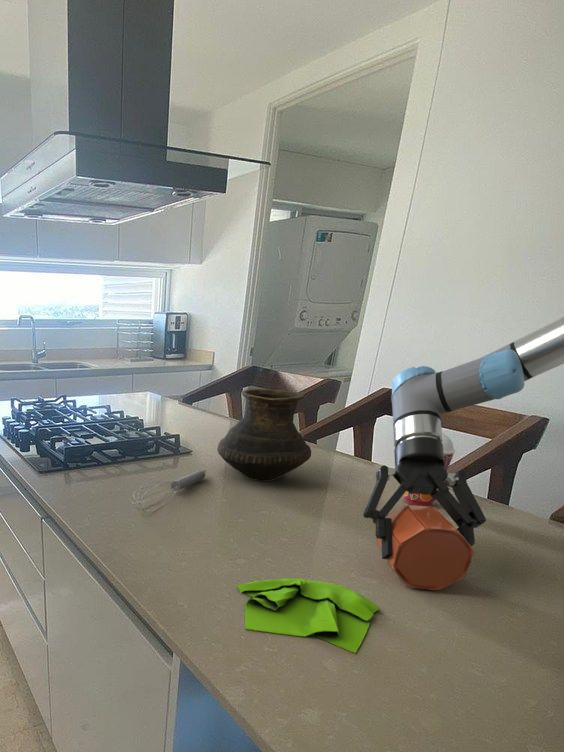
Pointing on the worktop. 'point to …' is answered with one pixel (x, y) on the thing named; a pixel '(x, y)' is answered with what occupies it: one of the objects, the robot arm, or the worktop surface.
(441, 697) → the worktop surface
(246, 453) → the ceramic pot
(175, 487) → the kitchen whisk
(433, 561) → the cup
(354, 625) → the cloth
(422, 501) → the smoothie
